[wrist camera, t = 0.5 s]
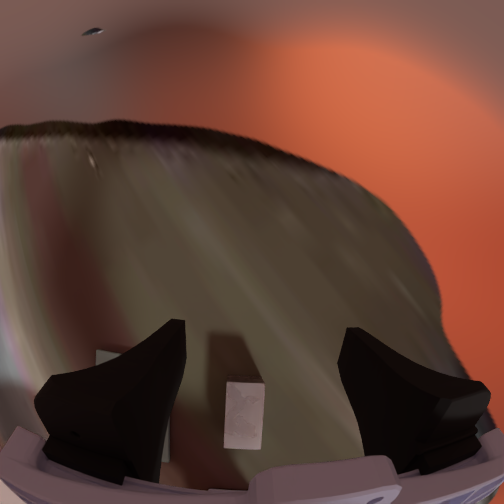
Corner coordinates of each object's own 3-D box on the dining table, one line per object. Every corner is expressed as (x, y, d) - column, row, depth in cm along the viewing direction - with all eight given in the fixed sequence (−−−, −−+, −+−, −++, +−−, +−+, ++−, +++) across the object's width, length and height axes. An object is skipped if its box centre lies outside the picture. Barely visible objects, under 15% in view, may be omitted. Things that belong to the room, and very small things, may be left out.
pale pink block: (257, 434, 31) (260, 449, 26) (225, 433, 31) (223, 448, 26) (261, 376, 33) (265, 383, 28) (228, 374, 33) (226, 381, 28)
